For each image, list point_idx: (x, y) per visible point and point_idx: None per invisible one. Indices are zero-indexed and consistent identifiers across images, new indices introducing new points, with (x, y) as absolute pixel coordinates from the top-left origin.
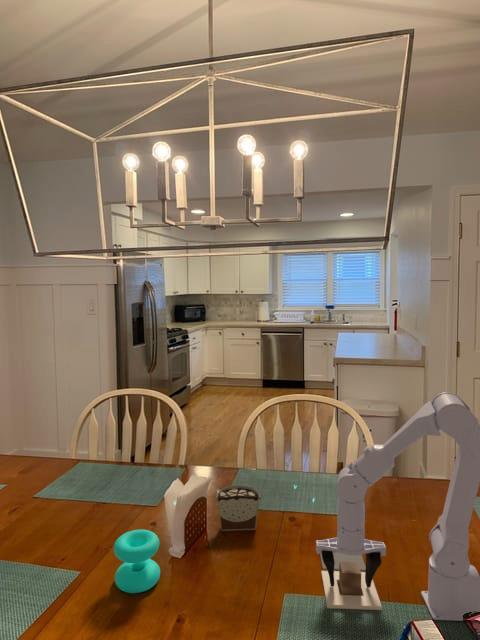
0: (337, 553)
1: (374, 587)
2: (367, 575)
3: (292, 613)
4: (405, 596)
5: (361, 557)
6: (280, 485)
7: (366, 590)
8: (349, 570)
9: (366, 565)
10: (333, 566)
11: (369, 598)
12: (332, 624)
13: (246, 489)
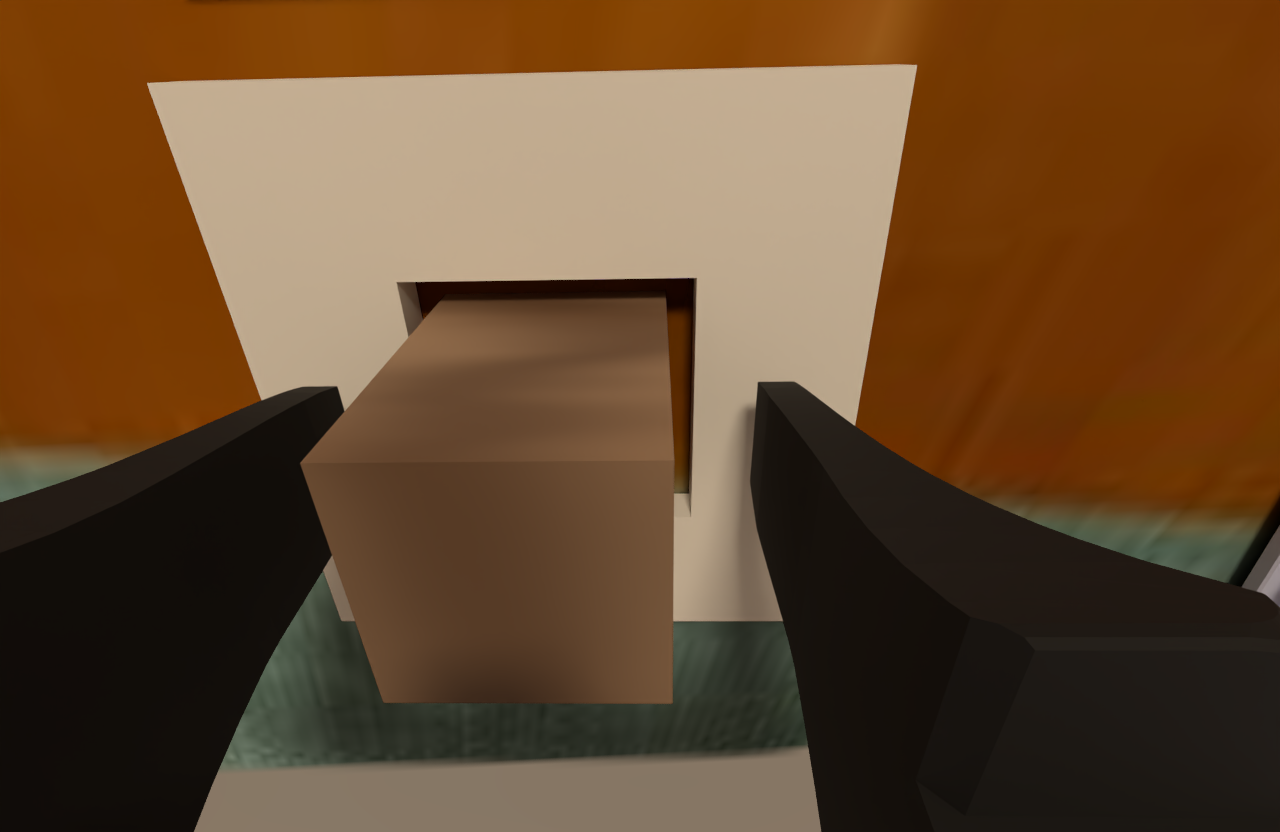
0: None
1: (850, 394)
2: (783, 550)
3: None
4: (1142, 432)
5: None
6: None
7: (740, 442)
8: (495, 651)
9: (822, 522)
10: (183, 826)
11: (739, 544)
12: (411, 709)
13: None
